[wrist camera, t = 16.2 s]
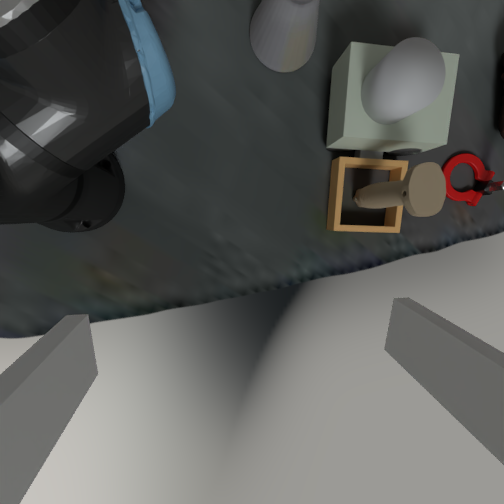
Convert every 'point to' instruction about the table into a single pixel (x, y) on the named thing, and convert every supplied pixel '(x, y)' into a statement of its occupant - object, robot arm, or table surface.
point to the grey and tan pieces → (386, 113)
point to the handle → (408, 191)
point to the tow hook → (481, 175)
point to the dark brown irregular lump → (503, 116)
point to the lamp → (284, 33)
